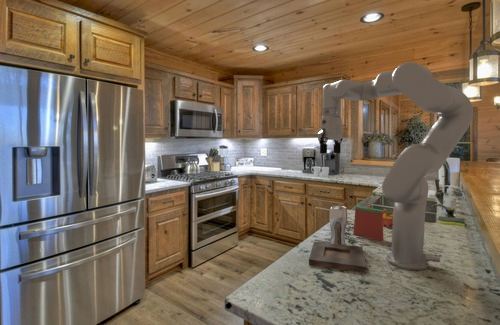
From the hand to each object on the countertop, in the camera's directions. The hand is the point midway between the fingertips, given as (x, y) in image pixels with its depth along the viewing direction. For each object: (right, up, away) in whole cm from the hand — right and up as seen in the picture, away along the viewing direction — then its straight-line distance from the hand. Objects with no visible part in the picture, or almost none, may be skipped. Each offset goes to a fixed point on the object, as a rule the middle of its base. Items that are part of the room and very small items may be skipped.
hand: (330, 153), depth 119 cm
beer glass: (+2, -38, -5) cm, 38 cm away
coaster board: (-3, -39, -20) cm, 43 cm away
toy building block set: (+29, -37, +15) cm, 49 cm away
